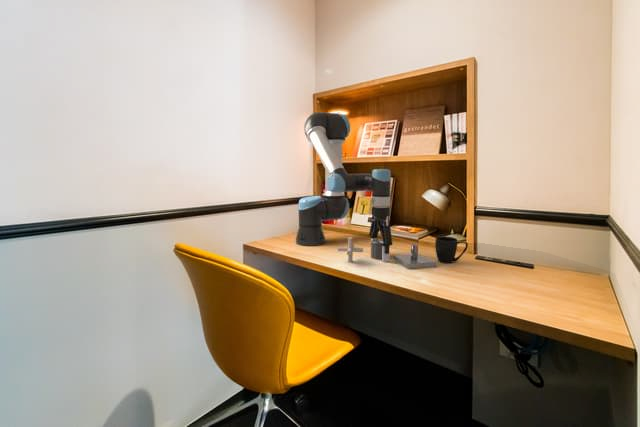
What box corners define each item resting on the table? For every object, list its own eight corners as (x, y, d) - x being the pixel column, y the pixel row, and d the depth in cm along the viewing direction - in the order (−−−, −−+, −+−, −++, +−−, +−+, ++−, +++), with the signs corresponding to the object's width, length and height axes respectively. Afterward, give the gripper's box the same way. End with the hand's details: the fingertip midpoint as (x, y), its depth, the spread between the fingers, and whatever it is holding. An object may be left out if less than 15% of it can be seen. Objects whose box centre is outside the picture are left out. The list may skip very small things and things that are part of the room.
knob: (368, 255, 138) (368, 239, 137) (384, 254, 140) (384, 238, 138) (374, 260, 131) (375, 243, 130) (391, 259, 133) (391, 242, 131)
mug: (465, 267, 121) (467, 243, 120) (432, 262, 127) (434, 239, 126) (467, 261, 128) (468, 238, 127) (436, 257, 134) (437, 235, 133)
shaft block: (393, 259, 131) (393, 242, 130) (419, 258, 134) (420, 240, 133) (407, 269, 120) (407, 249, 119) (435, 266, 122) (436, 247, 121)
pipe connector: (361, 266, 124) (362, 241, 122) (336, 264, 126) (336, 240, 124) (363, 258, 133) (363, 235, 132) (339, 257, 135) (340, 234, 134)
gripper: (362, 203, 143) (361, 250, 146) (384, 210, 120) (382, 265, 123) (378, 202, 144) (377, 249, 148) (402, 210, 121) (400, 264, 124)
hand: (379, 256), depth 135 cm, fingers open, 12 cm apart
